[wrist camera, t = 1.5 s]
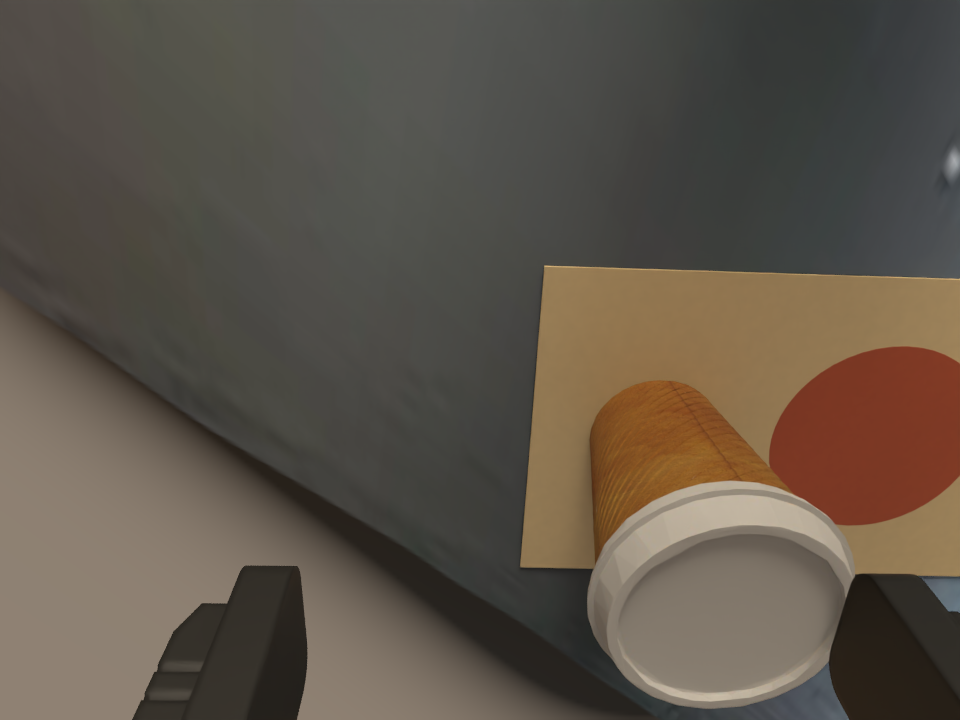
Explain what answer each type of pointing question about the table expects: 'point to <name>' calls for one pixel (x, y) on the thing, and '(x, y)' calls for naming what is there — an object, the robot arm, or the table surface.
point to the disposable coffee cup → (705, 556)
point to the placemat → (763, 397)
